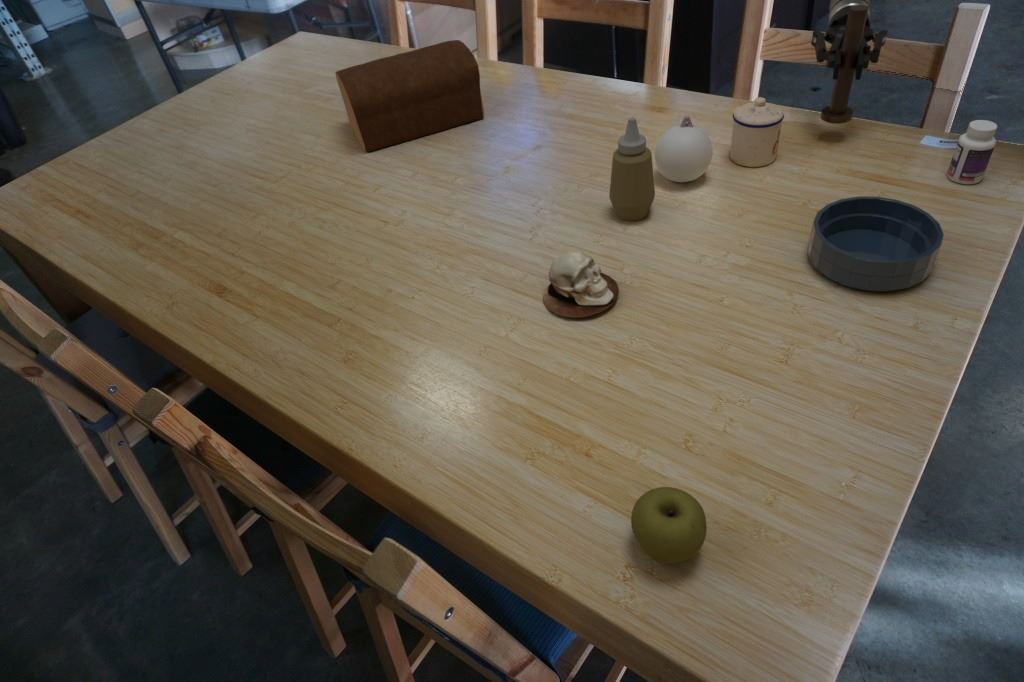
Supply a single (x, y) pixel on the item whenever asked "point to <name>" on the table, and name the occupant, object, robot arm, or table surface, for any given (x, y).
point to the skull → (578, 286)
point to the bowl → (874, 243)
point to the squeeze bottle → (632, 175)
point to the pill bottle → (973, 153)
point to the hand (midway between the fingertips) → (847, 71)
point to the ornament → (683, 152)
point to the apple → (668, 524)
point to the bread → (411, 94)
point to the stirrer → (846, 67)
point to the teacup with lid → (756, 133)
